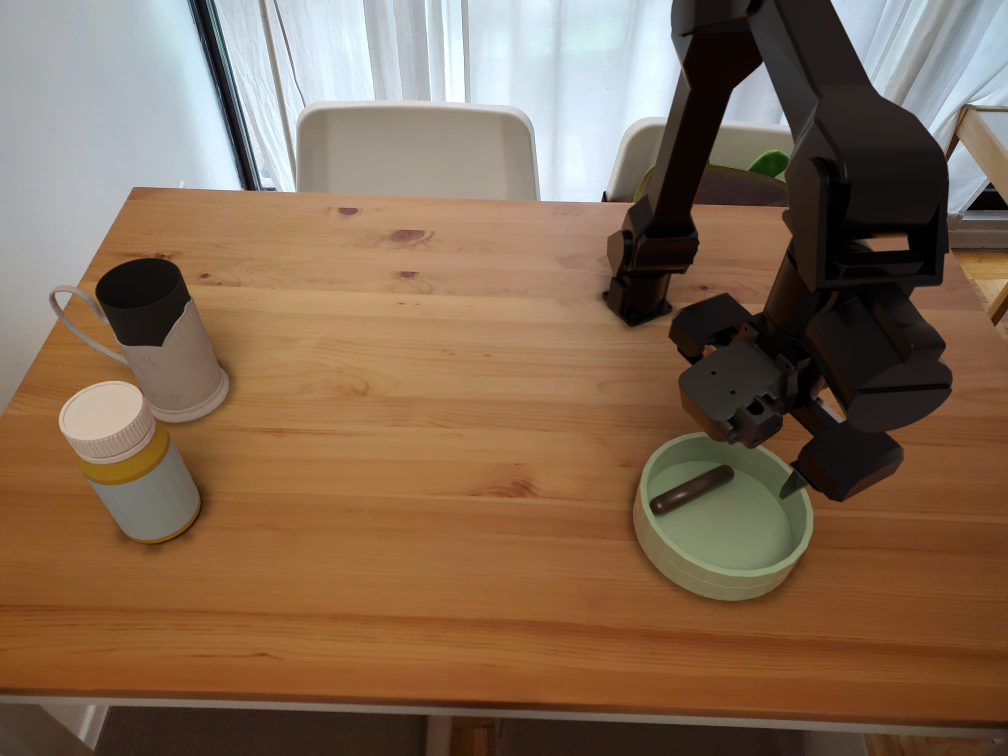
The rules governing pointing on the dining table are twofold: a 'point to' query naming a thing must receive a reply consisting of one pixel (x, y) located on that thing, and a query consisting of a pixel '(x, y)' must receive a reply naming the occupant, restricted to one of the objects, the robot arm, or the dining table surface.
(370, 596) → the dining table surface
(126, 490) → the bottle
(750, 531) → the bowl
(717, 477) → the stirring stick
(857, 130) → the robot arm
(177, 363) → the glass holder
